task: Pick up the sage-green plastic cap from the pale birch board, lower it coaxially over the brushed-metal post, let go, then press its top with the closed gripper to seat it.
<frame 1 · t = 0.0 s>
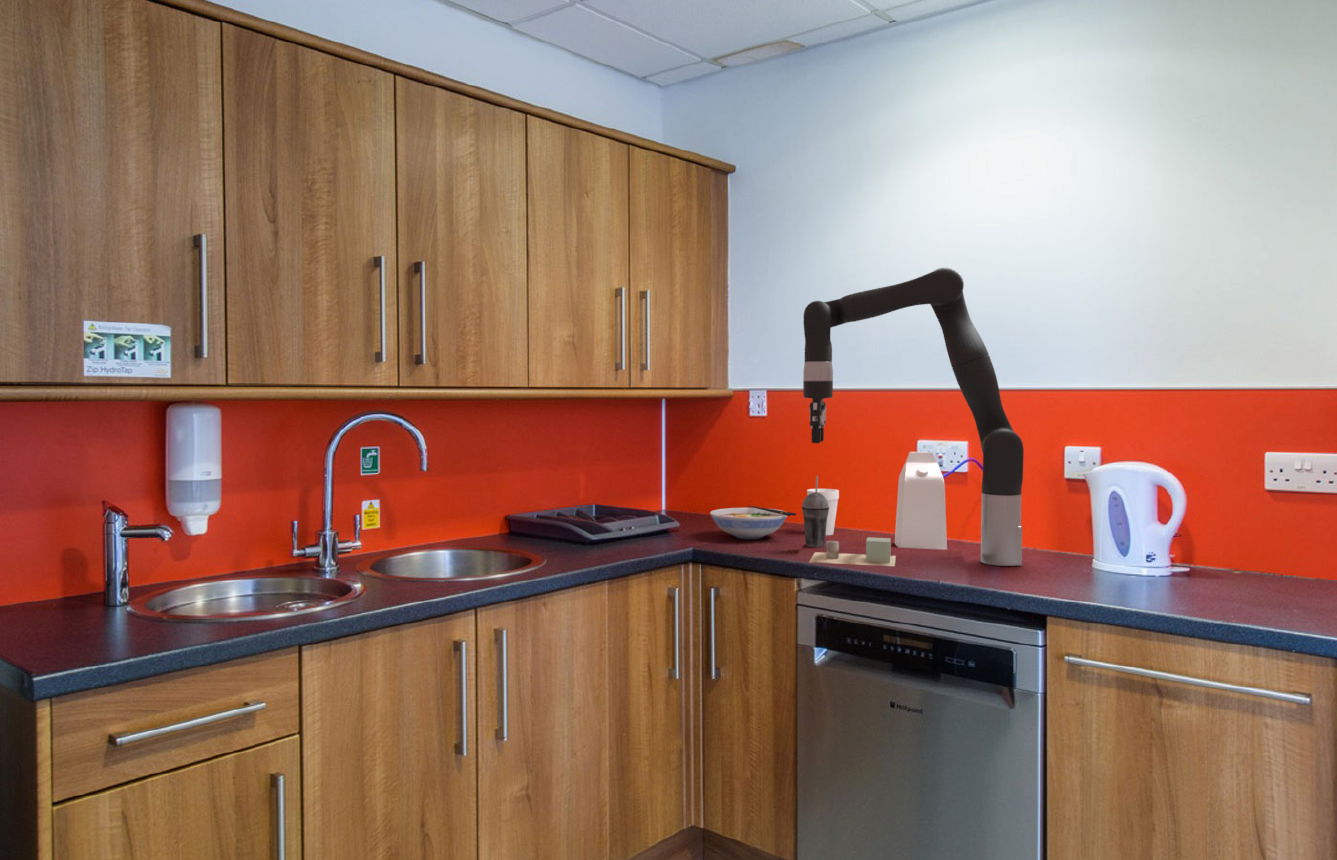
hand: (817, 442, 235), 29 cm above the worktop, tool pointing down, fingers open, 8 cm apart
beverage cup: (815, 552, 241), on the worktop
ramen bowl: (748, 538, 264), on the worktop
foam cup: (822, 534, 271), on the worktop
cap: (878, 560, 220), point 1 cm above the worktop, touching post board
post board: (853, 565, 222), on the worktop
milk: (920, 548, 248), on the worktop
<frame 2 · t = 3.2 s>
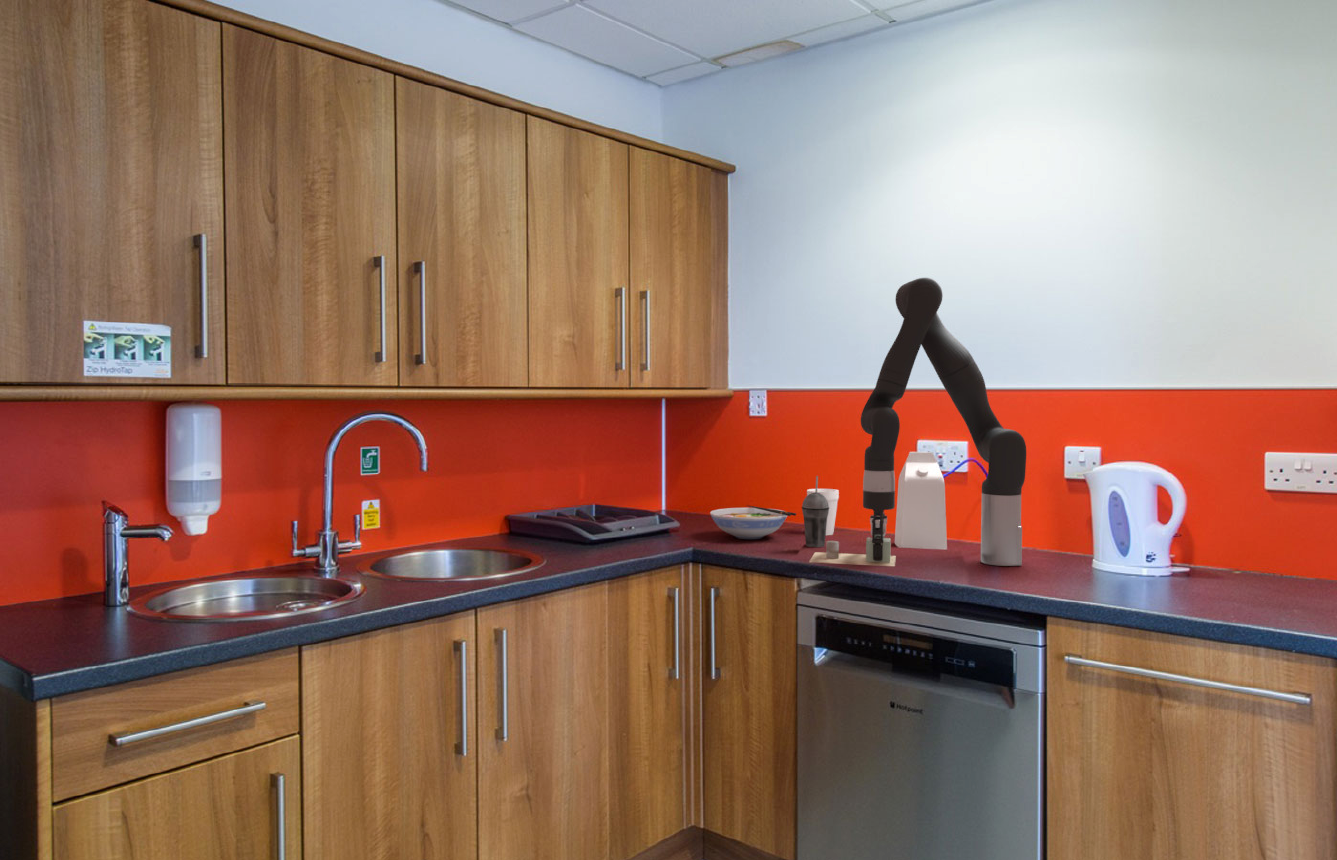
hand: (878, 557, 220), 2 cm above the worktop, tool pointing down, fingers closed on cap, 5 cm apart
cap: (878, 560, 220), point 1 cm above the worktop, touching gripper, post board
everything else where it was.
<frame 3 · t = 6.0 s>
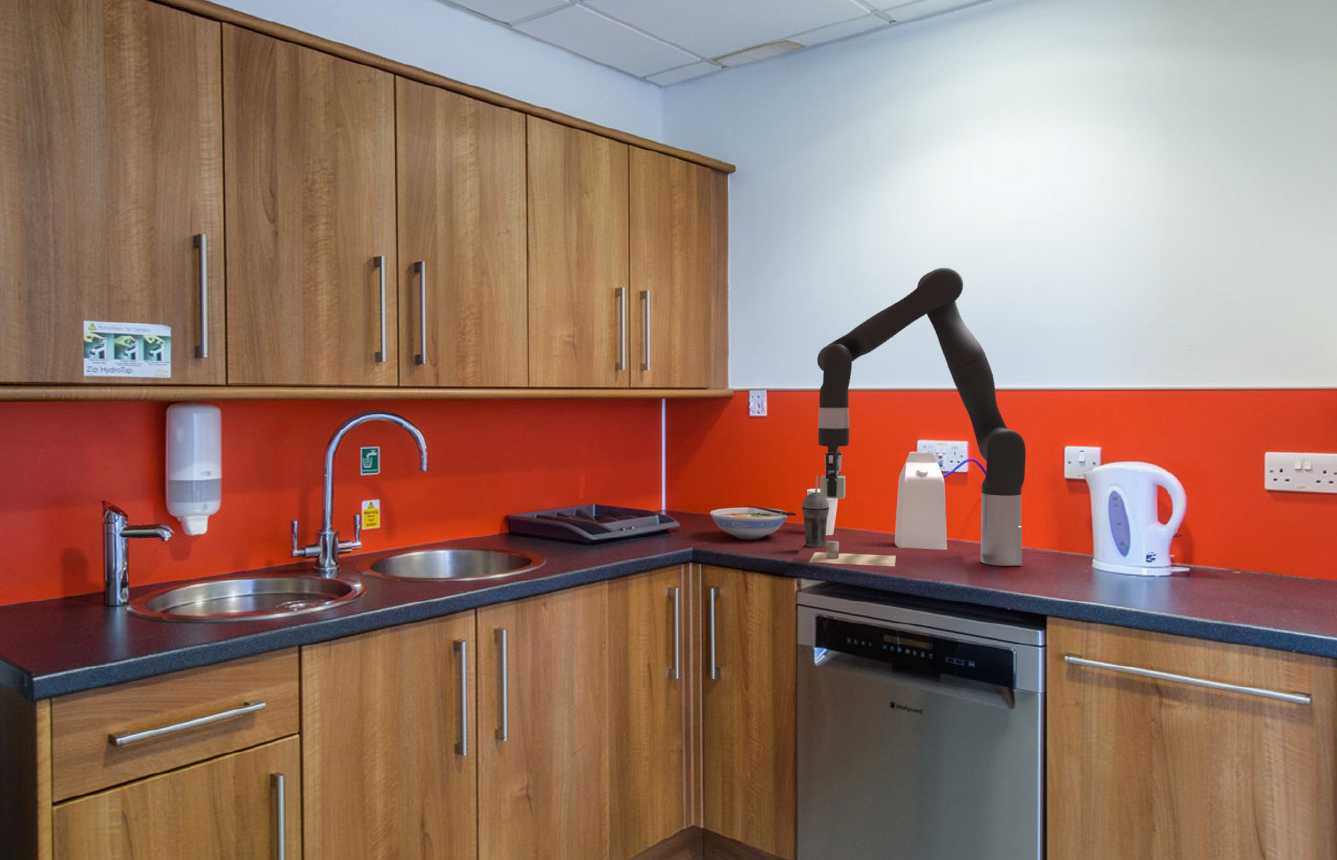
hand: (832, 495, 223), 17 cm above the worktop, tool pointing down, fingers closed on cap, 5 cm apart
cap: (832, 497, 223), point 17 cm above the worktop, touching gripper
everything else where it was.
when the fingers open (3 cm above the worktop, at t = 9.0 s): cap drops 1 cm, resting on post board.
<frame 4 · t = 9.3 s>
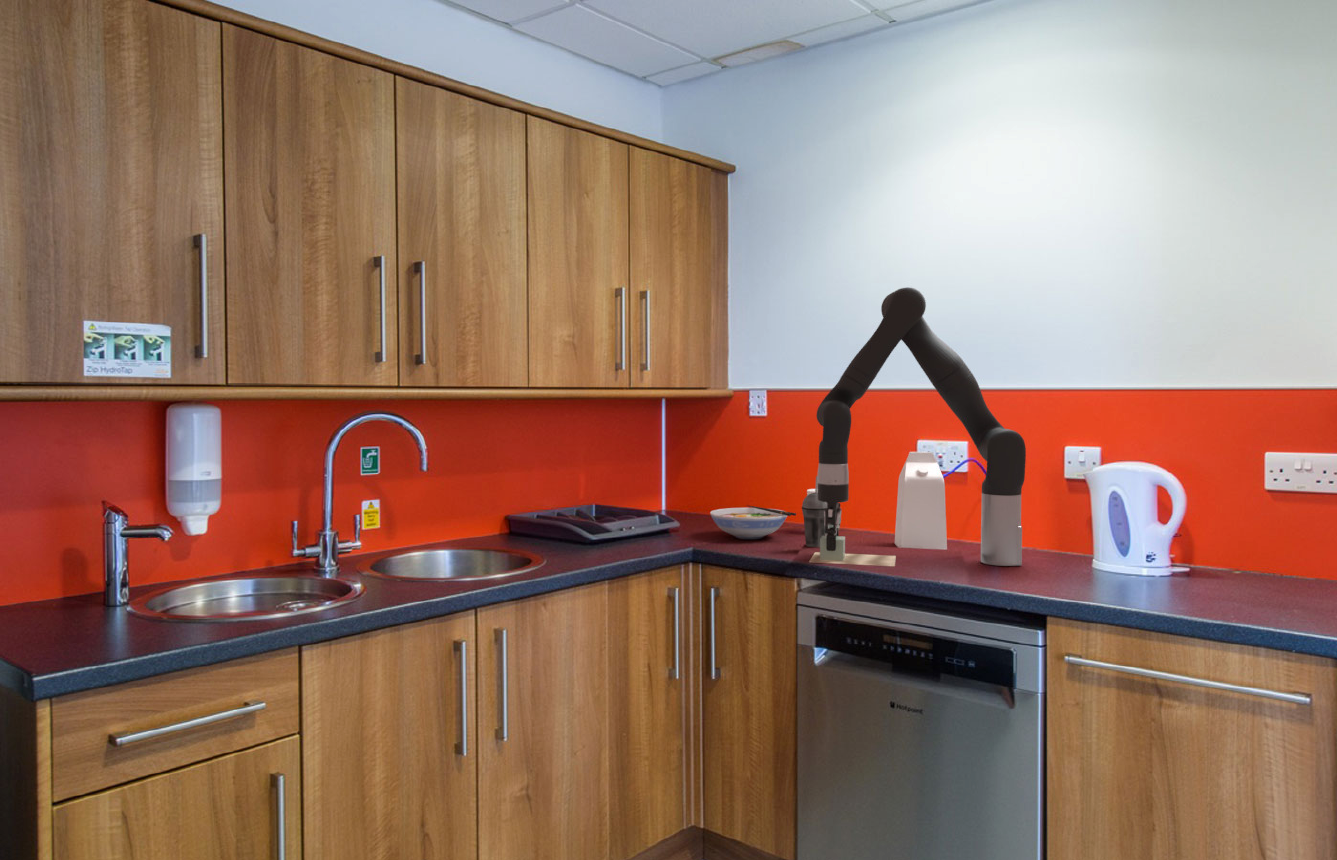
hand: (832, 547, 223), 4 cm above the worktop, tool pointing down, fingers open, 8 cm apart
cap: (832, 558, 223), point 1 cm above the worktop, touching post board
everything else where it was.
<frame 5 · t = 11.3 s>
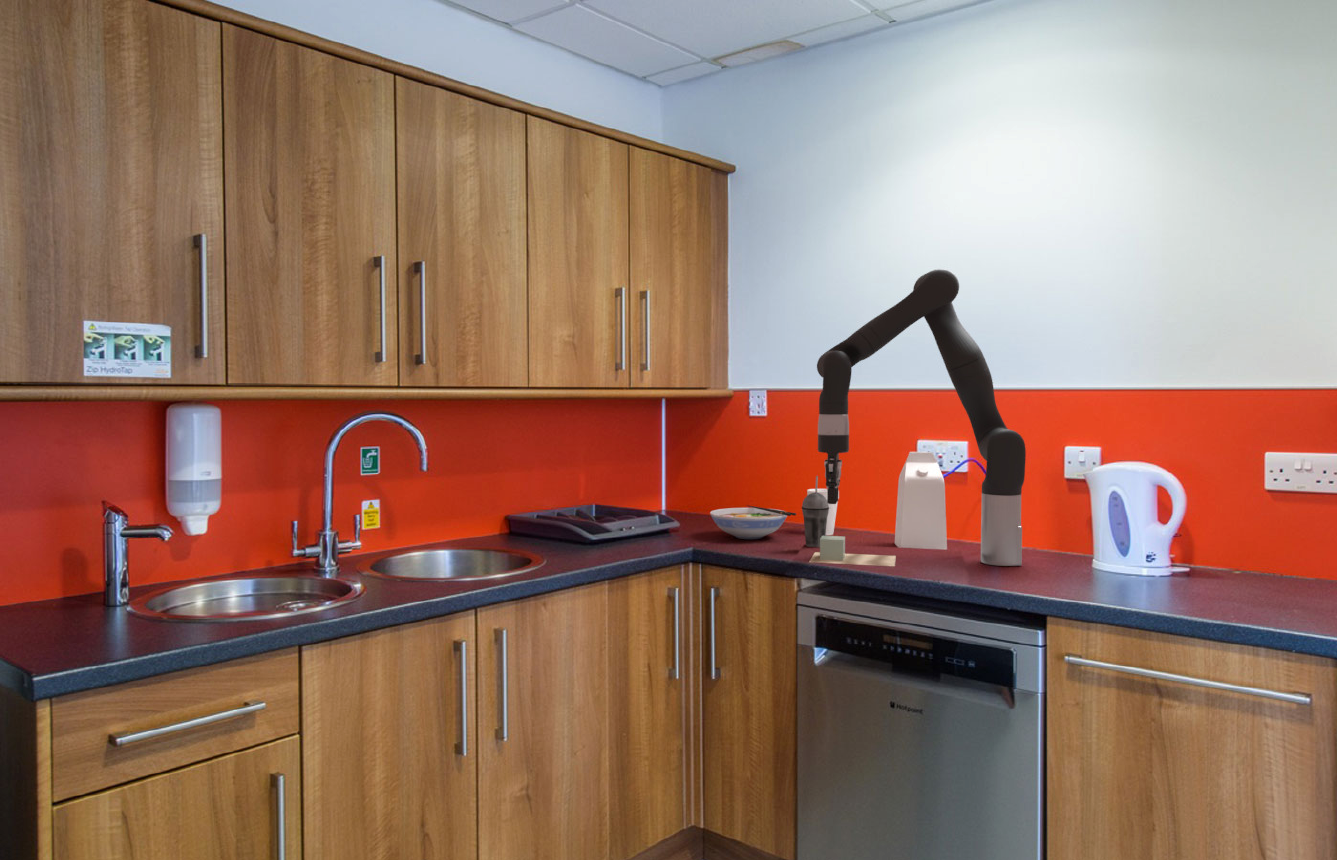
hand: (832, 502, 223), 15 cm above the worktop, tool pointing down, fingers open, 4 cm apart
nothing on the worktop moved.
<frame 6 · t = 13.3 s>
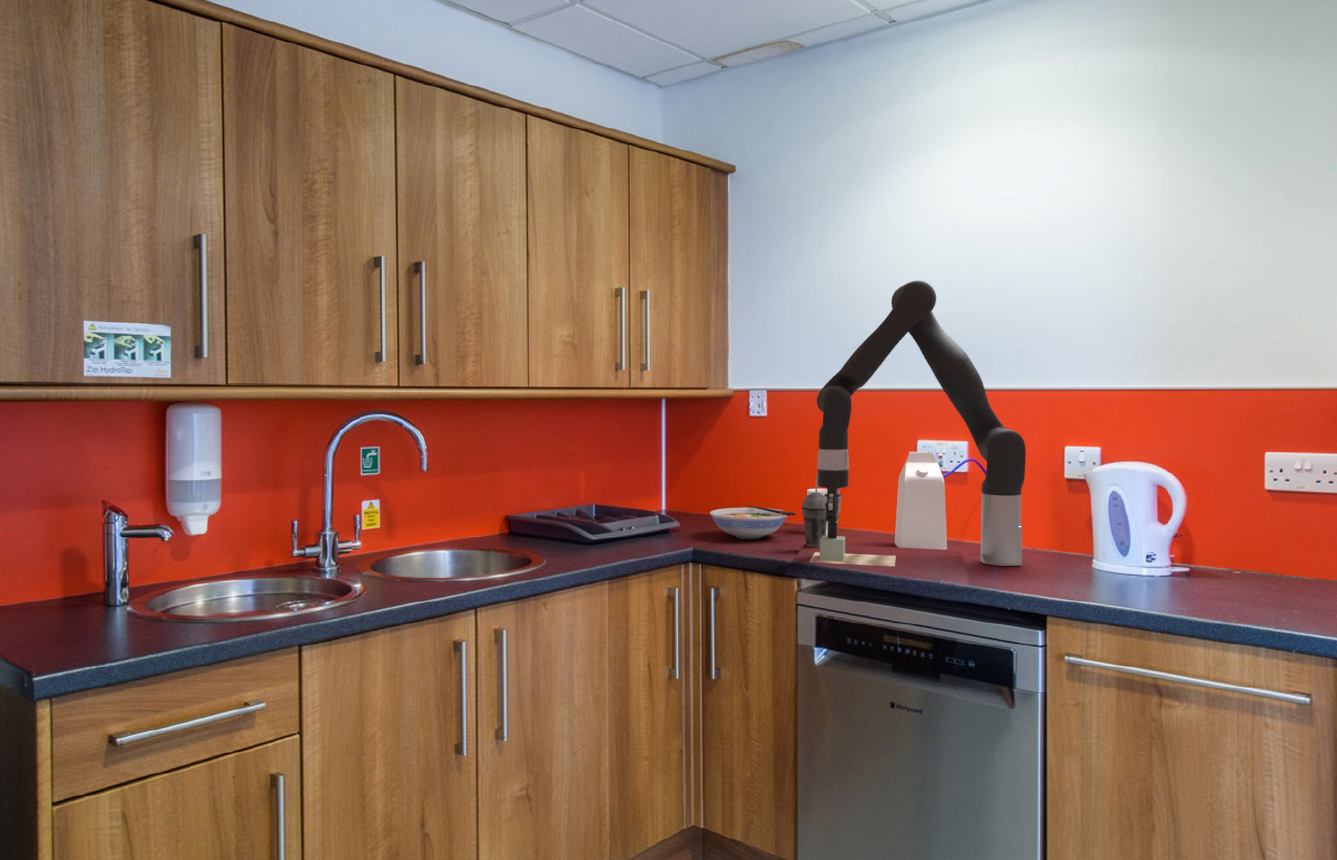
hand: (832, 537, 223), 6 cm above the worktop, tool pointing down, fingers closed
cap: (832, 558, 223), point 1 cm above the worktop, touching gripper, post board
everything else where it was.
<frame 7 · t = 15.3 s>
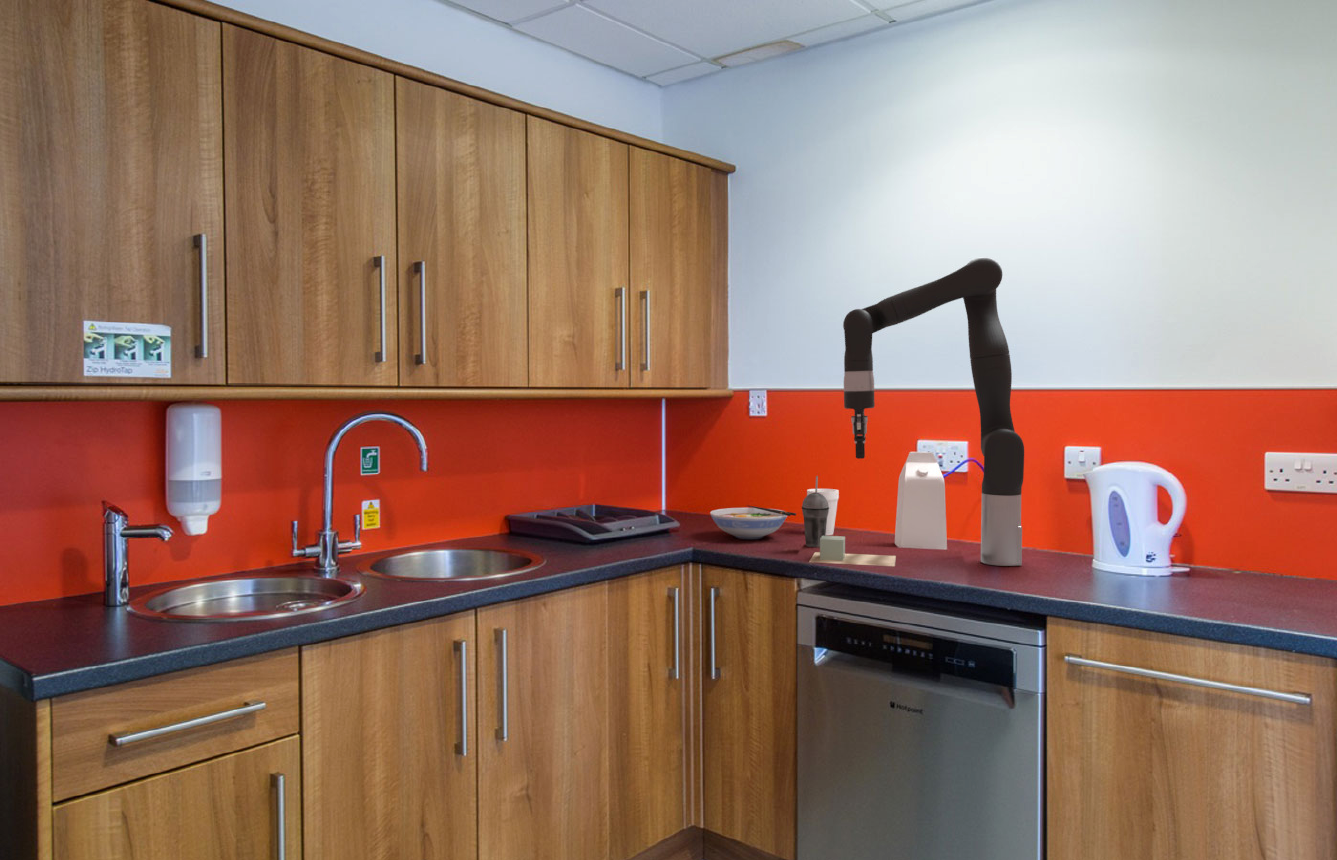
hand: (860, 458, 229), 26 cm above the worktop, tool pointing down, fingers closed
cap: (832, 558, 223), point 1 cm above the worktop, touching post board
everything else where it was.
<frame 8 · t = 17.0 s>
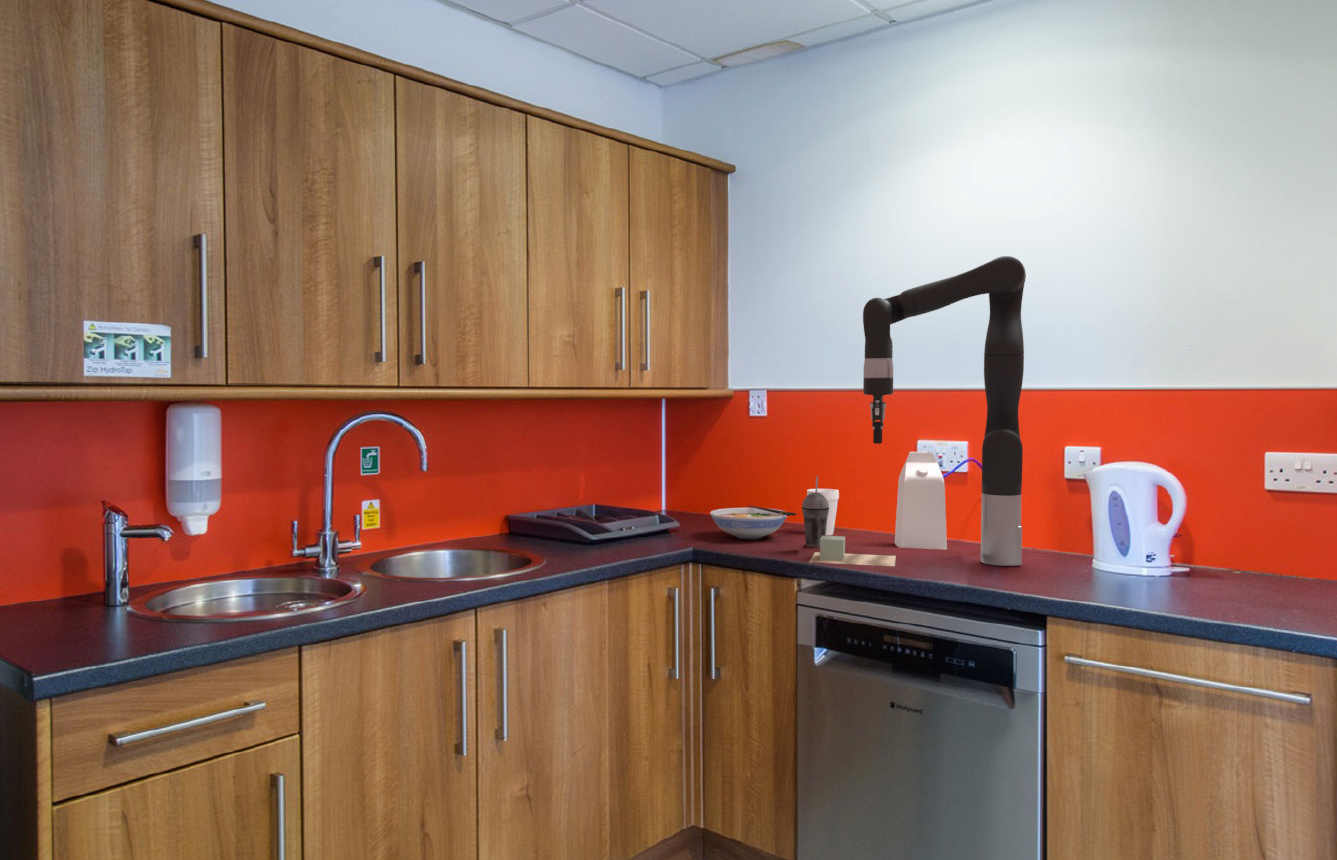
hand: (877, 443, 235), 29 cm above the worktop, tool pointing down, fingers closed
nothing on the worktop moved.
at the end: cap 0.1 cm from the target spot on the post board, point 1.5 cm above the post board's base; cap tilted 0°; the gripper is holding nothing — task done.
